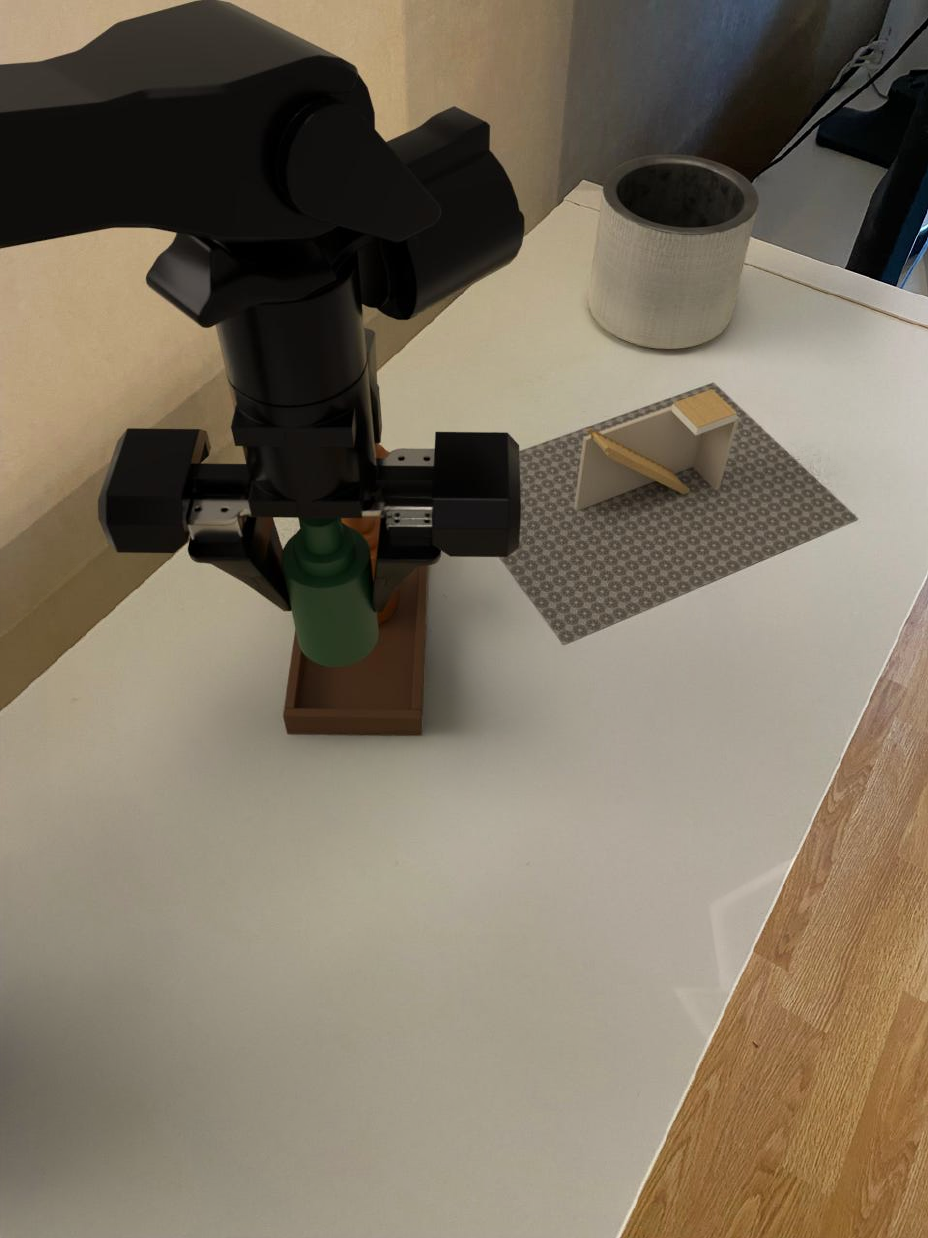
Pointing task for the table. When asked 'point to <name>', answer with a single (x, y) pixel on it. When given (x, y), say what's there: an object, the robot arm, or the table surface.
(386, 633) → the tray
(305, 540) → the green bottle
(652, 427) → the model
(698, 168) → the planter
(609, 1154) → the table surface
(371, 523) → the amber bottle middle
